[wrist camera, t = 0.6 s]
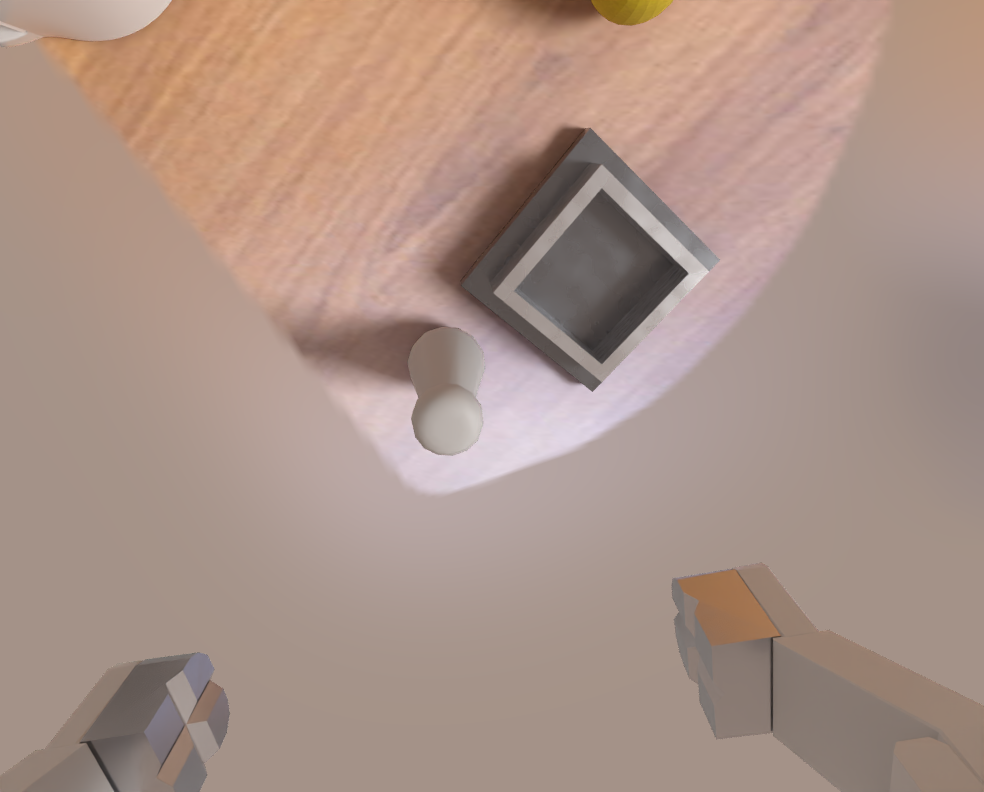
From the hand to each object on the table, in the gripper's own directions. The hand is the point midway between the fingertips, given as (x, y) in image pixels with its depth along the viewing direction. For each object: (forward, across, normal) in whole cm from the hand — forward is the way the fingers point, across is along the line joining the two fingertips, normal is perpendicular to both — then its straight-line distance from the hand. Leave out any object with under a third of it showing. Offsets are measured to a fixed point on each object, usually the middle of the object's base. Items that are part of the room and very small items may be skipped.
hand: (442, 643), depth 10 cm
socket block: (+36, -9, 0) cm, 37 cm away
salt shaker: (+36, +3, +4) cm, 36 cm away
